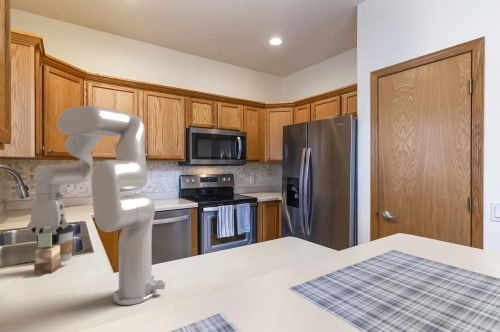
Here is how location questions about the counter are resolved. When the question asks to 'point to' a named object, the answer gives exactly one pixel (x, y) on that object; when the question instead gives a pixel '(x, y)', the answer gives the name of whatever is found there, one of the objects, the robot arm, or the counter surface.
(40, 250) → the maple block
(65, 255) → the coffee cup
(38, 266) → the walnut block
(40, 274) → the flat square pad
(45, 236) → the sage block
